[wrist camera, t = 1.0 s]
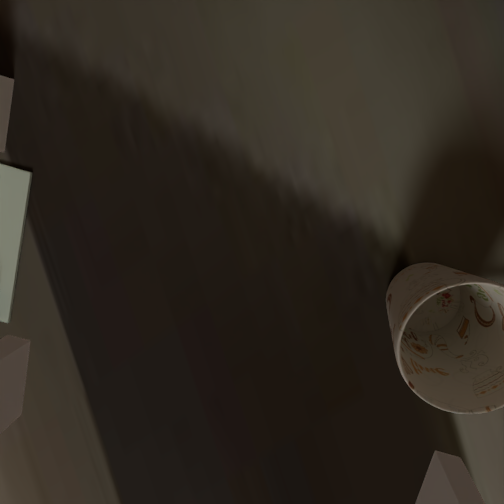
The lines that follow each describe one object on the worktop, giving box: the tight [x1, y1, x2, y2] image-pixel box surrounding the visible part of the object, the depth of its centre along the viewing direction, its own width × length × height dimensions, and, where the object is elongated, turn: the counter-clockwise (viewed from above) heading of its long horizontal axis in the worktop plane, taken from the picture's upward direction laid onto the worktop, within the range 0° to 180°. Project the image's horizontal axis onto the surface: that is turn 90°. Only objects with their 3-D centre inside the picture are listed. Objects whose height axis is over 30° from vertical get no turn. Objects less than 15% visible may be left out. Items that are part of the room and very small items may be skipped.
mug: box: [386, 262, 504, 414], centre depth 30 cm, size 8×13×10 cm, turn 102°
